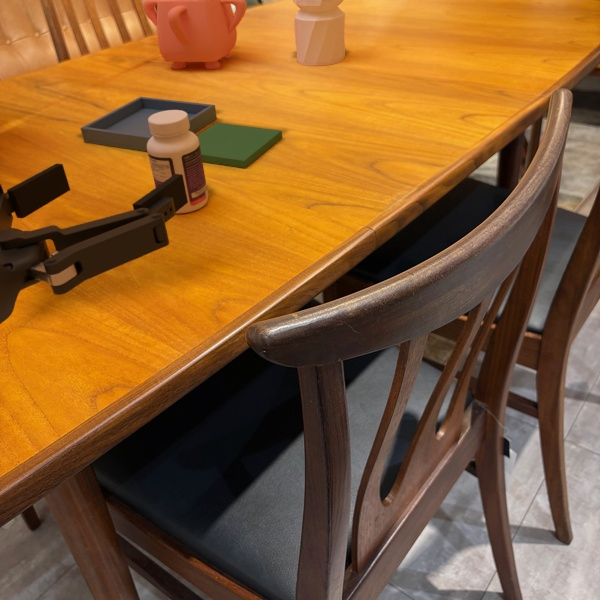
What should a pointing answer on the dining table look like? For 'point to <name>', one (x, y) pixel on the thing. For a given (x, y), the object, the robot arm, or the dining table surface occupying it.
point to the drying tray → (142, 122)
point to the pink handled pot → (195, 29)
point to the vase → (319, 32)
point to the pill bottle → (177, 155)
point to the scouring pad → (235, 144)
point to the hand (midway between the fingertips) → (120, 182)
